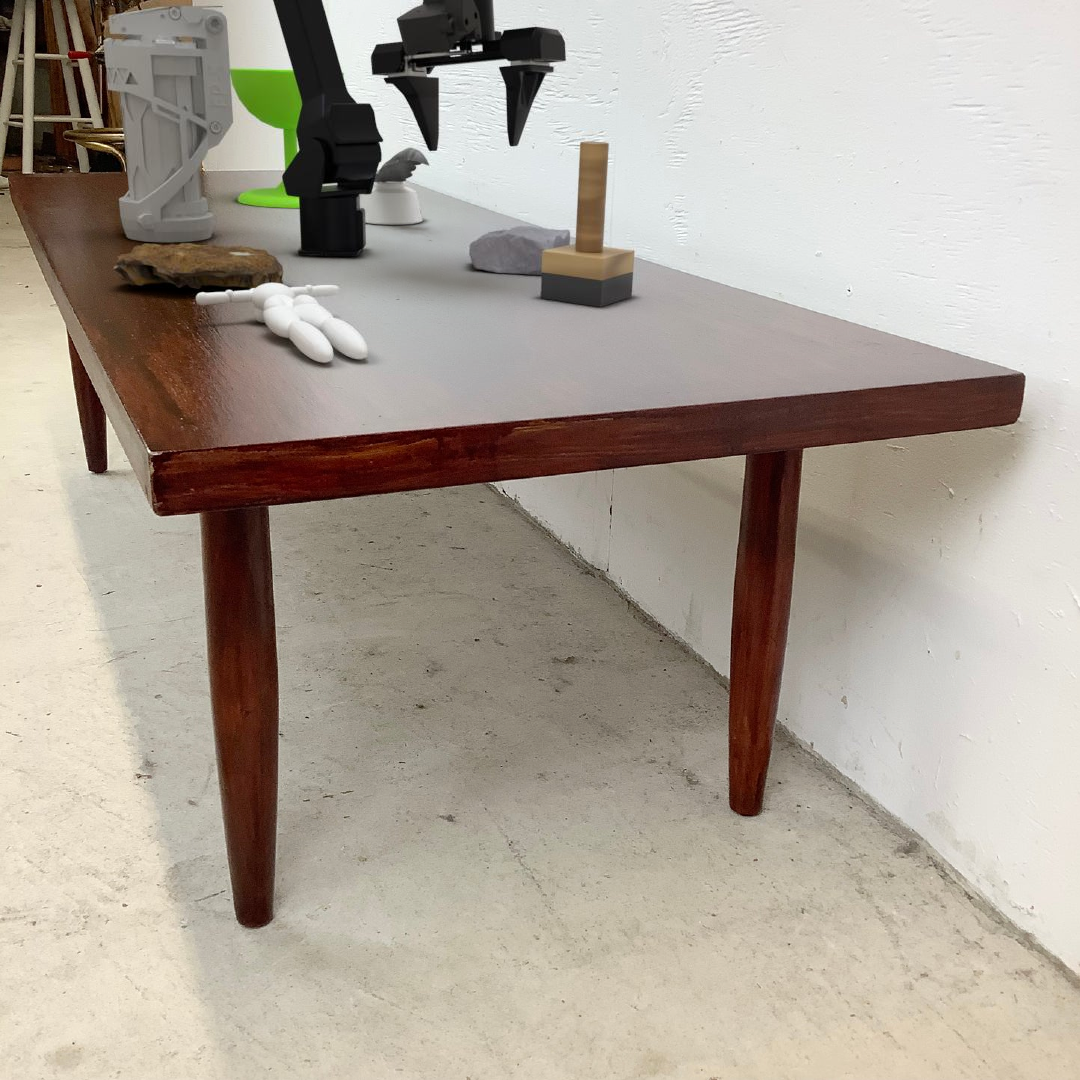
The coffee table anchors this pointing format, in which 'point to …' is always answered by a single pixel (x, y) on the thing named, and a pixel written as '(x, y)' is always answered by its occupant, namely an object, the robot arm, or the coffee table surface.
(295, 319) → the decorative figure
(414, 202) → the inkwell
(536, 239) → the stone block
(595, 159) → the rubber stamp
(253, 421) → the coffee table surface
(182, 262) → the decorative rock
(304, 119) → the robot arm
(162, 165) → the grey mechanical model
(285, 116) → the wineglass
